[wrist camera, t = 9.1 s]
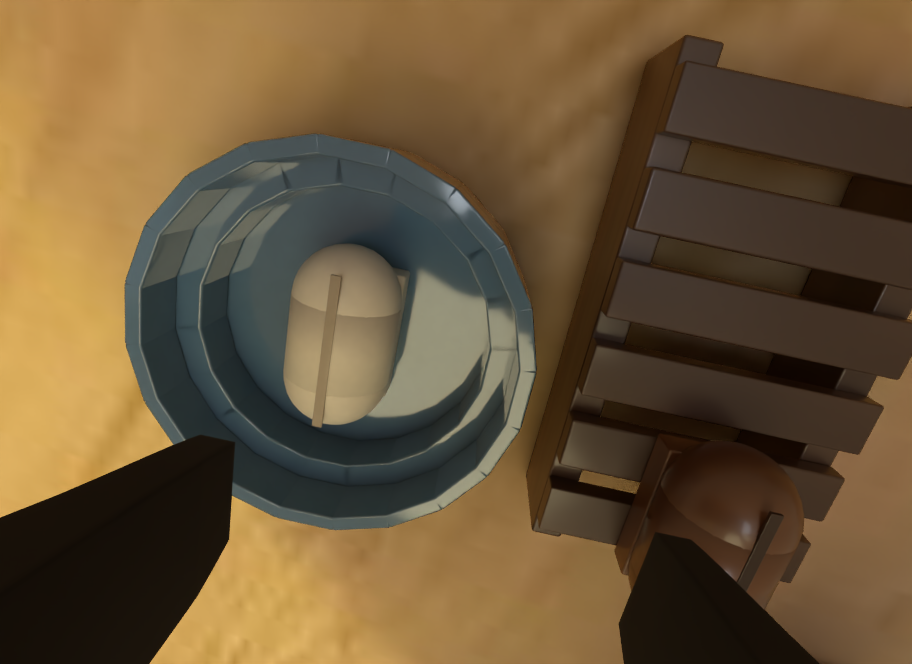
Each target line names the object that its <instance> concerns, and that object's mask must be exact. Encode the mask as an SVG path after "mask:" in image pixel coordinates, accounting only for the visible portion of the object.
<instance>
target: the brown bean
mask: <svg viewBox="0 0 912 664" xmlns="http://www.w3.org/2000/svg"><path fill="white" fill-rule="evenodd" d="M803 529H804V512H803V506H802V500H801V498H800V495H799V493H798V491H797V489H796V486H795V484H794V483H793V481H792V480H791V479H790V477H789V476H788V474H787V473H786V472H785V471H784V469H783V468H782V467H781V466H779V465H778V464H777V463H776V462H775V461H774V460H773V459H771V458H770V457H769V456H767V455H766V454H764V453H763V452H761V451H759V450H757V449H755V448H753V447H750V446H748V445H745V444H741V443H738V442H731V441H720V440H718V441H709V442H698V441H694V440H689V439H684V438H680V437H675V436H671V435H666V434H661V433H660V434H659V435H658V438H657V440H656V443H655V446H654V448H653V451H652V454H651V456H650V459H649V461H648V464H647V467H646V469H645V472H644V475H643V477H642V480H641V482H640V485H639V488H638V490H637V493H636V496H635V498H634V501H633V504H632V506H631V509H630V511H629V514H628V517H627V519H626V522H625V525H624V527H623V530H622V532H621V535H620V538H619V540H618V543H617V546H616V548H615V554H616V558H617V561H618V564H619V567H620V570H621V573H622V574H624V575H628V576H629V583H630V587H631V592H632V589H633V586H634V584H635V581H636V579H637V576H638V574H639V571H640V569H641V566H642V564H643V561H644V559H645V556H646V554H647V551H648V549H649V546H650V544H651V541H652V539H653V536H654V534H655V532H658V533H663V534H668V535H672V536H677V537H682V538H686V539H691V540H692V541H693V542H695V543H696V544H697V545H698V546H699V547H700V548H701V549H703V550H704V551H705V552H706V553H707V554H708V555H709V556H710V557H711V558H712V559H713V560H714V561H715V562H716V563H717V564H719V565H720V566H721V567H722V568H723V569H724V570H725V571H726V572H727V573H728V574H729V575H730V576H731V577H732V578H733V579H734V580H735V581H736V582H737V583H738V584H739V585H740V586H741V587H742V588H743V589H744V590H745V591H746V592H747V593H748V594H749V595H750V596H751V597H752V598H753V599H754V600H755V601H756V602H757V603H758V604H759V605H760V606H761V607H762V608H763V609H764V610H765V608H766V606H767V604H768V602H769V600H770V598H771V596H772V595H773V593H774V591H775V589H776V587H777V585H778V583H779V581H780V579H781V577H782V575H783V574H784V572H785V570H786V568H787V566H788V564H789V562H790V560H791V558H792V556H793V555H794V553H795V551H796V549H797V547H798V545H799V542H800V539H801V536H802V533H803Z"/></svg>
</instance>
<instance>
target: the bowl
mask: <svg viewBox="0 0 912 664" xmlns="http://www.w3.org/2000/svg"><path fill="white" fill-rule="evenodd" d="M347 243H349V244H357V245H361V246H364V247H366V248H369V249H371V250H373V251H375V252H376V253H378V254H379V255H381V256H382V257H383V258H384V259H385V260H386V261H387V262H388V263H389V264H390V265H391V267H393V268H398V269H402V270H407V271H409V272H410V276H409V282H408V287H407V293H406V299H405V304H404V310H403V316H402V321H401V327H400V333H399V338H398V344H397V349H396V355H395V361H394V366H393V372H392V378H391V383H390V386H389V388H388V391H387V393H386V395H385V396H383V397H382V399H381V400H380V402H379V403H378V404H377V406H376V407H375V408H374V409H373V410H372V411H371V412H369V413H368V414H367V415H365V416H364V417H362V418H361V419H358V420H356V421H353V422H350V423H347V424H341V425H331V424H324V423H323V424H322V427H321V428H320V427H315V426H312V419H311V418H309V417H307V416H306V415H304V414H303V413H301V412H300V411H299V410H298V409H297V408H296V407H295V405H294V404H293V403H292V401H291V400H290V398H289V396H288V394H287V391H286V387H285V383H284V376H283V369H284V359H285V349H286V340H287V330H288V320H289V310H290V300H291V291H292V287H293V282H294V279H295V276H296V274H297V272H298V270H299V268H300V267H301V266H302V264H303V263H304V262H305V261H306V260H307V259H308V258H309V257H310V256H311V255H313V254H314V253H315V252H317V251H319V250H321V249H323V248H325V247H328V246H331V245H335V244H347ZM125 282H126V283H125V343H126V348H127V351H128V354H129V357H130V360H131V363H132V366H133V369H134V372H135V375H136V378H137V381H138V384H139V387H140V390H141V393H142V396H143V399H144V401H146V402H145V404H146V405H147V407H148V408H149V409H150V411H151V412H152V414H153V415H154V417H155V418H156V420H157V421H158V423H159V424H160V426H161V427H162V429H163V430H164V432H165V433H166V434H167V436H168V437H169V439H170V440H171V442H172V443H173V445H175V444H177V443H179V442H182V441H184V440H187V439H189V438H192V437H195V436H197V435H205V436H210V437H214V438H219V439H224V440H228V441H233V442H235V454H234V469H233V485H232V496H234V497H236V498H238V499H240V500H242V501H244V502H246V503H248V504H250V505H252V506H254V507H256V508H258V509H260V510H262V511H264V512H266V513H268V514H270V515H272V516H274V517H277V518H280V519H284V520H289V521H294V522H298V523H303V524H307V525H312V526H316V527H321V528H326V529H330V530H349V529H371V528H389V527H393V526H395V525H398V524H401V523H404V522H407V521H410V520H413V519H416V518H419V517H422V516H425V515H428V514H431V513H434V512H437V511H440V510H442V509H444V508H445V507H447V506H448V505H449V504H451V503H452V502H453V501H455V500H456V499H458V498H459V497H460V496H462V495H463V494H464V493H466V492H467V491H468V490H470V489H471V488H473V487H474V486H475V485H477V484H478V483H479V482H481V481H482V480H484V479H485V478H486V477H487V476H488V475H489V474H490V473H491V471H492V470H493V468H494V467H495V465H496V464H497V463H498V461H499V460H500V458H501V457H502V455H503V454H504V453H505V451H506V450H507V448H508V447H509V445H510V444H511V443H512V441H513V440H514V438H515V437H516V435H517V434H518V433H519V431H520V429H521V427H522V423H523V420H524V416H525V412H526V409H527V405H528V402H529V398H530V394H531V391H532V387H533V384H534V380H535V376H536V370H537V366H536V351H535V337H534V322H533V309H532V305H531V301H530V297H529V294H528V291H527V287H526V283H525V280H524V277H523V275H522V272H521V270H520V267H519V265H518V263H517V260H516V258H515V255H514V253H513V251H512V248H511V246H510V244H509V241H508V239H507V236H506V234H505V232H504V230H503V229H502V226H501V225H500V224H499V223H498V222H497V221H496V220H495V218H494V217H493V216H492V215H491V214H490V213H489V211H488V210H487V209H486V208H485V207H484V206H483V205H482V203H481V202H480V201H479V200H478V199H477V198H476V197H475V195H474V194H473V193H472V192H471V191H470V190H469V188H468V187H467V186H466V185H465V184H464V185H463V183H462V182H461V181H459V180H457V179H456V178H454V177H452V176H451V175H449V174H447V173H446V172H444V171H442V170H441V169H439V168H437V167H436V166H434V165H432V164H431V163H429V162H427V161H426V160H424V159H422V158H421V157H419V156H417V155H415V154H414V153H410V152H408V151H403V150H399V149H394V148H389V147H385V146H380V145H375V144H371V143H366V142H361V141H357V140H352V139H347V138H341V137H336V136H331V135H326V134H317V133H314V134H307V135H299V136H291V137H283V138H276V139H268V140H260V141H253V142H248V143H244V144H243V145H241V146H239V147H237V148H235V149H233V150H231V151H230V152H228V153H226V154H224V155H222V156H220V157H218V158H216V159H215V160H213V161H211V162H209V163H207V164H205V165H203V166H202V167H200V168H198V169H196V170H194V171H192V172H190V173H189V174H188V175H187V176H185V177H184V178H183V180H182V181H181V182H180V183H179V184H178V185H177V187H176V188H175V189H174V190H173V191H172V193H171V194H170V195H169V196H168V197H167V198H166V200H165V201H164V202H163V203H162V204H161V206H160V207H159V208H158V209H157V210H156V211H155V213H154V214H153V215H152V216H151V217H150V219H149V220H148V221H147V222H146V225H145V226H144V228H143V231H142V234H141V237H140V240H139V243H138V245H137V248H136V251H135V254H134V257H133V260H132V263H131V266H130V269H129V271H128V274H127V277H126V280H125Z"/></svg>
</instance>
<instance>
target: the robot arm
mask: <svg viewBox="0 0 912 664" xmlns="http://www.w3.org/2000/svg"><path fill="white" fill-rule="evenodd" d="M234 454H235V442H233V441H228V440H224V439H219V438H214V437H210V436H205V435H197V436H195V437H192V438H189V439H187V440H184V441H182V442H179V443H177V444H175V445H172V446H170V447H167V448H165V449H163V450H161V451H158V452H156V453H154V454H151V455H149V456H147V457H145V458H142V459H140V460H138V461H135V462H133V463H131V464H129V465H126V466H124V467H122V468H119V469H117V470H115V471H113V472H110V473H108V474H106V475H103V476H101V477H99V478H96V479H94V480H92V481H89V482H87V483H85V484H82V485H80V486H78V487H75V488H73V489H71V490H68V491H66V492H64V493H61V494H59V495H56V496H54V497H51V498H49V499H46V500H44V501H41V502H39V503H36V504H34V505H31V506H29V507H26V508H24V509H21V510H19V511H16V512H13V513H11V514H8V515H6V516H3V517H1V518H0V664H149V663H150V662H151V660H152V659H153V658H154V656H155V655H156V654H157V652H158V651H159V649H160V648H161V647H162V645H163V644H164V642H165V641H166V640H167V638H168V637H169V635H170V634H171V633H172V631H173V630H174V628H175V627H176V626H177V624H178V623H179V621H180V620H181V619H182V617H183V616H184V614H185V613H186V612H187V610H188V609H189V607H190V606H191V605H192V603H193V602H194V600H195V599H196V597H197V596H198V594H199V592H200V590H201V589H202V587H203V585H204V584H205V582H206V580H207V578H208V577H209V575H210V573H211V571H212V570H213V568H214V566H215V564H216V562H217V561H218V559H219V557H220V555H221V553H222V551H223V550H224V548H225V546H226V544H227V542H228V540H229V531H230V516H231V500H232V485H233V469H234ZM619 629H620V637H621V644H622V652H623V660H624V664H819V663H818V662H817V661H816V660H815V659H814V658H813V657H812V656H811V655H810V654H809V653H808V652H807V651H806V650H805V649H804V648H803V647H802V646H801V645H800V644H799V643H798V642H796V641H795V640H794V639H793V638H792V637H791V636H790V635H789V634H788V633H787V632H786V631H785V630H784V629H783V628H782V627H781V626H780V625H779V624H778V623H777V622H776V621H775V620H774V619H773V618H772V617H771V616H770V615H769V614H768V613H767V612H766V611H765V610H764V609H763V608H762V607H761V606H760V605H759V604H758V603H757V602H756V601H755V600H754V599H753V598H752V597H751V596H750V595H749V594H748V593H747V592H746V591H745V590H744V589H743V588H742V587H741V586H740V585H739V584H738V583H737V582H736V581H735V580H734V579H733V578H732V577H731V576H730V575H729V574H728V573H727V572H726V571H725V570H724V569H723V568H722V567H721V566H720V565H719V564H717V563H716V562H715V561H714V560H713V559H712V558H711V557H710V556H709V555H708V554H707V553H706V552H705V551H704V550H703V549H701V548H700V547H699V546H698V545H697V544H696V543H695V542H693V541H692V540H691V539H686V538H682V537H677V536H672V535H668V534H663V533H658V532H655V534H654V536H653V539H652V541H651V544H650V546H649V549H648V551H647V554H646V556H645V559H644V561H643V564H642V566H641V569H640V571H639V574H638V576H637V579H636V581H635V584H634V586H633V589H632V592H631V594H630V597H629V599H628V602H627V604H626V607H625V609H624V612H623V614H622V617H621V619H620V622H619Z"/></svg>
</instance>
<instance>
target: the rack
mask: <svg viewBox="0 0 912 664" xmlns="http://www.w3.org/2000/svg"><path fill="white" fill-rule="evenodd" d="M723 45H724V44H723V43H722V42H719V41H714V40H709V39H705V38H700V37H695V36H691V35H685V36H683V37H682V38H680V39H679V40H678V41H676V42H675V43H673V44H672V45H670V46H669V47H667V48H666V49H664V50H663V51H661V52H660V53H659V54H657V55H656V56H654V57H653V58H651V59H650V60H648V62H647V64H646V68H645V71H644V75H643V78H642V81H641V85H640V88H639V92H638V95H637V98H636V102H635V105H634V109H633V112H632V116H631V119H630V122H629V126H628V129H627V133H626V136H625V140H624V143H623V146H622V150H621V153H620V157H619V160H618V163H617V167H616V170H615V174H614V177H613V181H612V184H611V187H610V191H609V194H608V198H607V201H606V205H605V208H604V211H603V215H602V218H601V222H600V225H599V228H598V232H597V235H596V239H595V242H594V246H593V249H592V252H591V256H590V259H589V263H588V266H587V270H586V273H585V276H584V280H583V283H582V287H581V290H580V293H579V297H578V300H577V304H576V307H575V311H574V314H573V317H572V321H571V324H570V328H569V331H568V335H567V338H566V341H565V345H564V348H563V352H562V355H561V358H560V362H559V365H558V369H557V372H556V376H555V379H554V382H553V386H552V389H551V393H550V396H549V400H548V403H547V406H546V410H545V413H544V417H543V420H542V423H541V427H540V430H539V434H538V437H537V441H536V444H535V447H534V451H533V454H532V458H531V461H530V465H529V468H528V471H527V475H526V478H527V488H528V497H529V506H530V516H531V525H532V530H533V531H535V532H540V533H545V534H549V535H554V536H560V535H561V533H562V534H566V535H571V536H575V537H580V538H585V539H589V540H594V541H598V542H603V543H608V544H612V545H617V543H618V540H619V538H620V535H621V532H622V530H623V527H624V525H625V522H626V519H627V517H628V514H629V511H630V509H631V506H632V504H633V501H634V498H635V496H636V494H634V493H629V492H624V491H620V490H615V489H611V488H606V487H601V486H597V485H592V484H588V483H583V482H578V481H579V478H580V475H581V472H582V470H586V471H591V472H595V473H600V474H605V475H609V476H614V477H618V478H623V479H628V480H632V481H637V482H641V480H642V477H643V475H644V472H645V469H646V467H647V464H648V461H649V459H650V456H651V454H652V451H653V448H654V446H655V443H656V440H657V438H658V435H659V434H660V433H661V434H666V435H671V436H675V437H680V438H684V439H689V440H694V441H698V442H709V441H710V440H706V439H701V438H697V437H692V436H687V435H683V434H678V433H673V432H669V431H664V430H660V429H655V428H650V427H646V426H641V425H637V424H632V423H627V422H623V421H618V420H614V419H609V418H604V417H600V415H601V412H602V409H603V406H604V403H605V400H608V401H613V402H617V403H622V404H626V405H631V406H636V407H640V408H645V409H649V410H654V411H659V412H663V413H668V414H672V415H677V416H682V417H686V418H691V419H696V420H700V421H705V422H709V423H714V424H719V425H723V426H728V427H732V428H737V429H742V431H741V433H740V435H739V438H738V440H737V442H738V443H741V444H745V445H748V446H750V447H753V448H755V449H757V450H759V451H761V452H763V453H764V454H766V455H767V456H769V457H770V458H771V459H773V460H774V461H775V462H776V463H777V464H778V465H779V466H781V467H782V468H783V469H784V471H785V472H786V473H787V474H788V476H789V477H790V479H791V480H792V481H793V483H794V484H795V486H796V489H797V491H798V493H799V495H800V498H801V500H802V506H803V512H804V518H807V519H812V520H816V521H823V520H824V518H825V516H826V514H827V513H828V511H829V509H830V507H831V505H832V503H833V501H834V500H835V498H836V496H837V494H838V492H839V490H840V488H841V486H842V485H843V483H844V480H845V479H844V478H843V477H842V476H841V475H840V474H839V473H838V472H837V471H835V470H834V469H833V468H832V467H830V466H831V464H832V462H833V460H834V458H835V457H836V455H837V453H838V451H843V452H848V453H852V454H857V455H858V454H860V452H861V450H862V448H863V446H864V444H865V442H866V441H867V439H868V437H869V435H870V433H871V431H872V429H873V428H874V426H875V424H876V422H877V420H878V418H879V416H880V414H881V413H882V411H883V409H884V407H883V406H882V405H880V404H879V403H877V402H875V401H874V400H872V399H871V398H869V397H867V395H868V393H869V391H870V389H871V387H872V385H873V383H874V381H875V379H876V377H877V376H881V377H886V378H890V379H895V380H898V379H900V377H901V375H902V373H903V371H904V369H905V368H906V366H907V364H908V362H909V360H910V358H911V356H912V320H909V319H907V318H908V316H909V314H910V312H911V310H912V107H902V106H897V105H893V104H888V103H883V102H879V101H874V100H869V99H865V98H860V97H855V96H851V95H846V94H841V93H837V92H832V91H828V90H823V89H818V88H814V87H809V86H804V85H800V84H795V83H790V82H786V81H781V80H776V79H772V78H767V77H762V76H758V75H753V74H748V73H744V72H739V71H734V70H730V69H725V68H720V67H717V64H718V61H719V58H720V55H721V52H722V49H723ZM691 142H697V143H702V144H706V145H711V146H715V147H720V148H725V149H729V150H734V151H739V152H743V153H748V154H753V155H757V156H762V157H767V158H771V159H776V160H780V161H785V162H790V163H794V164H799V165H804V166H808V167H813V168H818V169H822V170H827V171H832V172H836V173H841V174H846V175H850V176H853V179H852V181H851V183H850V185H849V188H848V190H847V192H846V195H845V197H844V199H843V201H842V204H841V206H840V207H839V206H835V205H830V204H826V203H821V202H816V201H812V200H807V199H802V198H798V197H793V196H788V195H784V194H779V193H775V192H770V191H765V190H761V189H756V188H751V187H747V186H742V185H737V184H733V183H728V182H723V181H719V180H714V179H710V178H705V177H700V176H696V175H691V174H686V173H682V169H683V166H684V163H685V160H686V157H687V154H688V151H689V148H690V145H691ZM660 236H663V237H668V238H672V239H677V240H682V241H686V242H691V243H695V244H700V245H705V246H709V247H714V248H719V249H723V250H728V251H732V252H737V253H742V254H746V255H751V256H756V257H760V258H765V259H770V260H774V261H779V262H783V263H788V264H793V265H797V266H802V267H807V268H811V269H813V270H812V272H811V274H810V276H809V279H808V281H807V283H806V285H805V288H804V290H803V292H802V295H801V296H799V295H794V294H790V293H785V292H780V291H776V290H771V289H766V288H762V287H757V286H753V285H748V284H743V283H739V282H734V281H729V280H725V279H720V278H716V277H711V276H706V275H702V274H697V273H692V272H688V271H683V270H679V269H674V268H669V267H665V266H660V265H655V264H651V262H652V259H653V256H654V253H655V250H656V247H657V244H658V241H659V238H660ZM631 322H632V323H636V324H641V325H645V326H650V327H655V328H659V329H664V330H669V331H673V332H678V333H682V334H687V335H692V336H696V337H701V338H705V339H710V340H715V341H719V342H724V343H729V344H733V345H738V346H742V347H747V348H752V349H756V350H761V351H766V352H770V353H775V356H774V358H773V360H772V363H771V365H770V367H769V369H768V372H767V374H766V375H765V374H761V373H756V372H751V371H747V370H742V369H738V368H733V367H728V366H724V365H719V364H715V363H710V362H705V361H701V360H696V359H691V358H687V357H682V356H678V355H673V354H668V353H664V352H659V351H655V350H650V349H645V348H641V347H636V346H631V345H627V344H624V343H625V340H626V337H627V334H628V331H629V328H630V325H631ZM810 546H811V543H810V542H809V541H808V540H807V539H806V537H805V536H804V535H803V534H802V536H801V539H800V542H799V545H798V547H797V549H796V551H795V553H794V555H793V556H792V558H791V560H790V562H789V564H788V566H787V568H786V570H785V572H784V574H783V575H782V577H781V579H780V581H782V582H787V583H791V581H792V579H793V577H794V575H795V574H796V572H797V570H798V568H799V566H800V564H801V562H802V561H803V559H804V557H805V555H806V553H807V551H808V549H809V547H810Z"/></svg>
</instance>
